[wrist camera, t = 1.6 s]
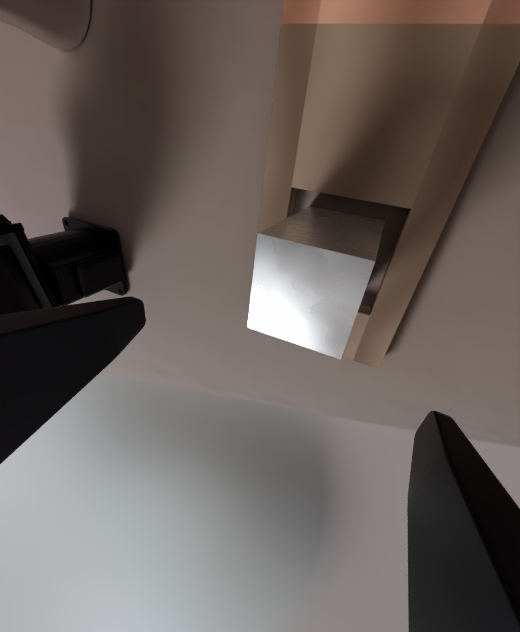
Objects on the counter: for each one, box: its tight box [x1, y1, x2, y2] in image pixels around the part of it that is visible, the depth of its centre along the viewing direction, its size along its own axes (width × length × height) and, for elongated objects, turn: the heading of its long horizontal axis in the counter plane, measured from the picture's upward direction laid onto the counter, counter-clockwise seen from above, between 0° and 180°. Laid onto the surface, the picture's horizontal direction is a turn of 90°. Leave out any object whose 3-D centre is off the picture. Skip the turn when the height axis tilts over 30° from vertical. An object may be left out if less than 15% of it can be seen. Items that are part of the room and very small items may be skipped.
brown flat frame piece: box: [258, 0, 520, 369], centre depth 14 cm, size 10×26×1 cm, turn 173°
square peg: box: [248, 206, 385, 360], centre depth 15 cm, size 4×4×8 cm
